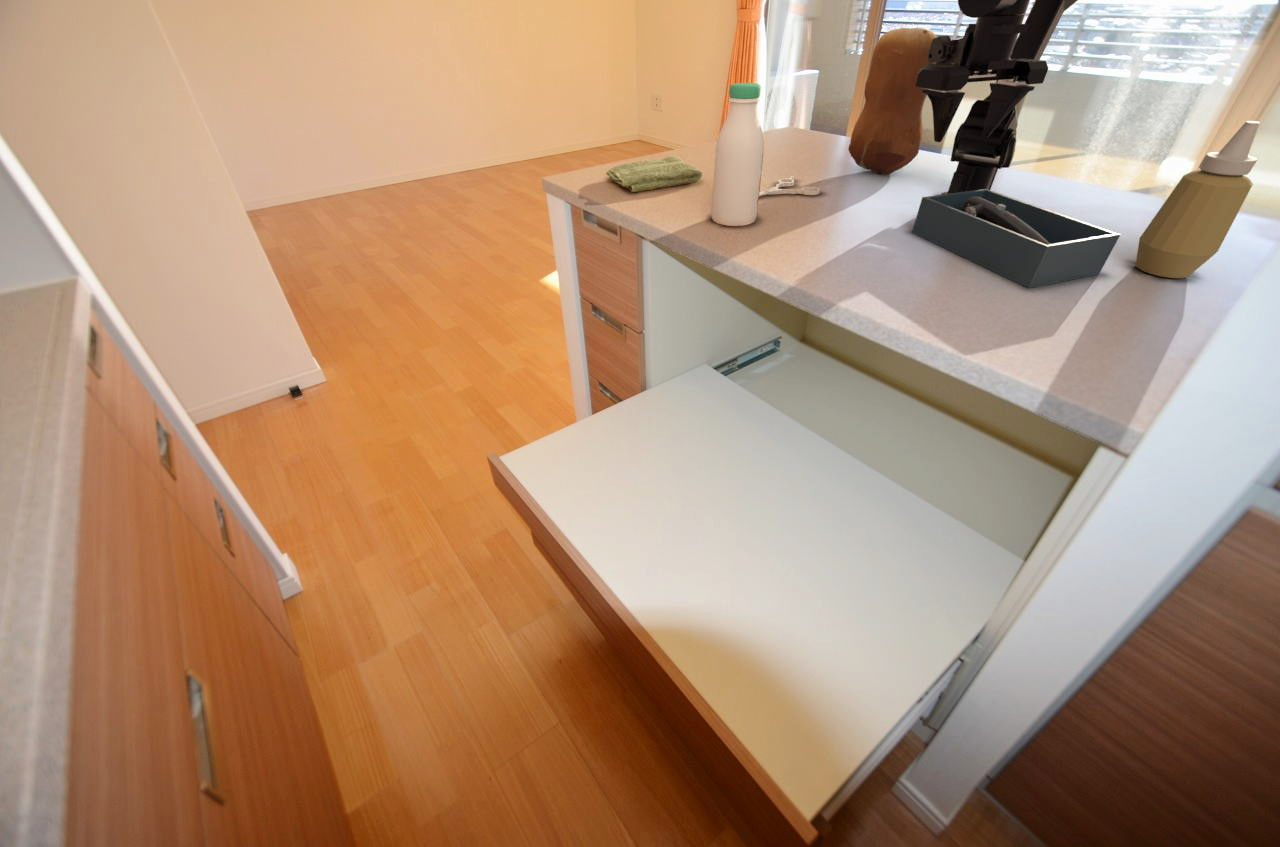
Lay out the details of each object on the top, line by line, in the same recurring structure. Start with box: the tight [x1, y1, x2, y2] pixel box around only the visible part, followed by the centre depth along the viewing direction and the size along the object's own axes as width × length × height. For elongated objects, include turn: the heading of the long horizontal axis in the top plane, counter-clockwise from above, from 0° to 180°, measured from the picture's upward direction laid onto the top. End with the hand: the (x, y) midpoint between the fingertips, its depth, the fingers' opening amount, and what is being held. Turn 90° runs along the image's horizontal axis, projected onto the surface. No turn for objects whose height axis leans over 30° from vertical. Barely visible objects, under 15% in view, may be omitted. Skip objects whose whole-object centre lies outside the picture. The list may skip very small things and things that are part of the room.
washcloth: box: [606, 155, 703, 193], centre depth 112 cm, size 13×18×3 cm
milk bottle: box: [710, 82, 765, 227], centre depth 87 cm, size 8×8×20 cm
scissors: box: [759, 175, 821, 197], centre depth 104 cm, size 11×1×20 cm
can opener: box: [962, 197, 1050, 245], centre depth 78 cm, size 18×7×6 cm, turn 5°
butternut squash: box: [847, 27, 937, 175], centre depth 107 cm, size 14×13×25 cm
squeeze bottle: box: [1135, 120, 1261, 279], centre depth 68 cm, size 8×8×18 cm
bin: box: [911, 189, 1121, 289], centre depth 78 cm, size 12×22×6 cm, turn 18°
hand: (961, 139), depth 85 cm, fingers open, 9 cm apart
